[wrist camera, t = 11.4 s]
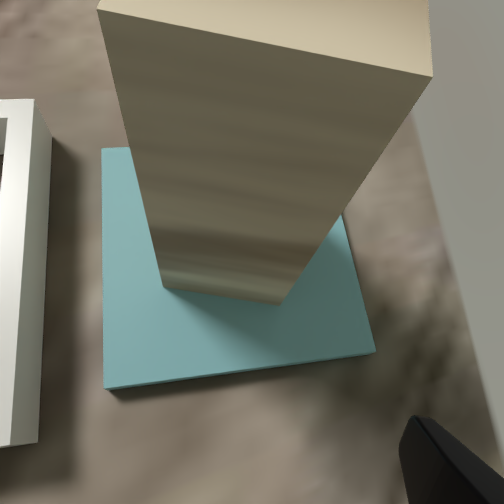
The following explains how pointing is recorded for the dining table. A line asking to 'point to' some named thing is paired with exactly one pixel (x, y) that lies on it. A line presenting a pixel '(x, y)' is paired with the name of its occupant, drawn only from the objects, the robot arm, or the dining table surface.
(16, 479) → the dining table surface
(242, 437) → the dining table surface
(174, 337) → the teal board
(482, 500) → the robot arm
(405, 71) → the birch block
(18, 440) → the tray
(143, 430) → the dining table surface
